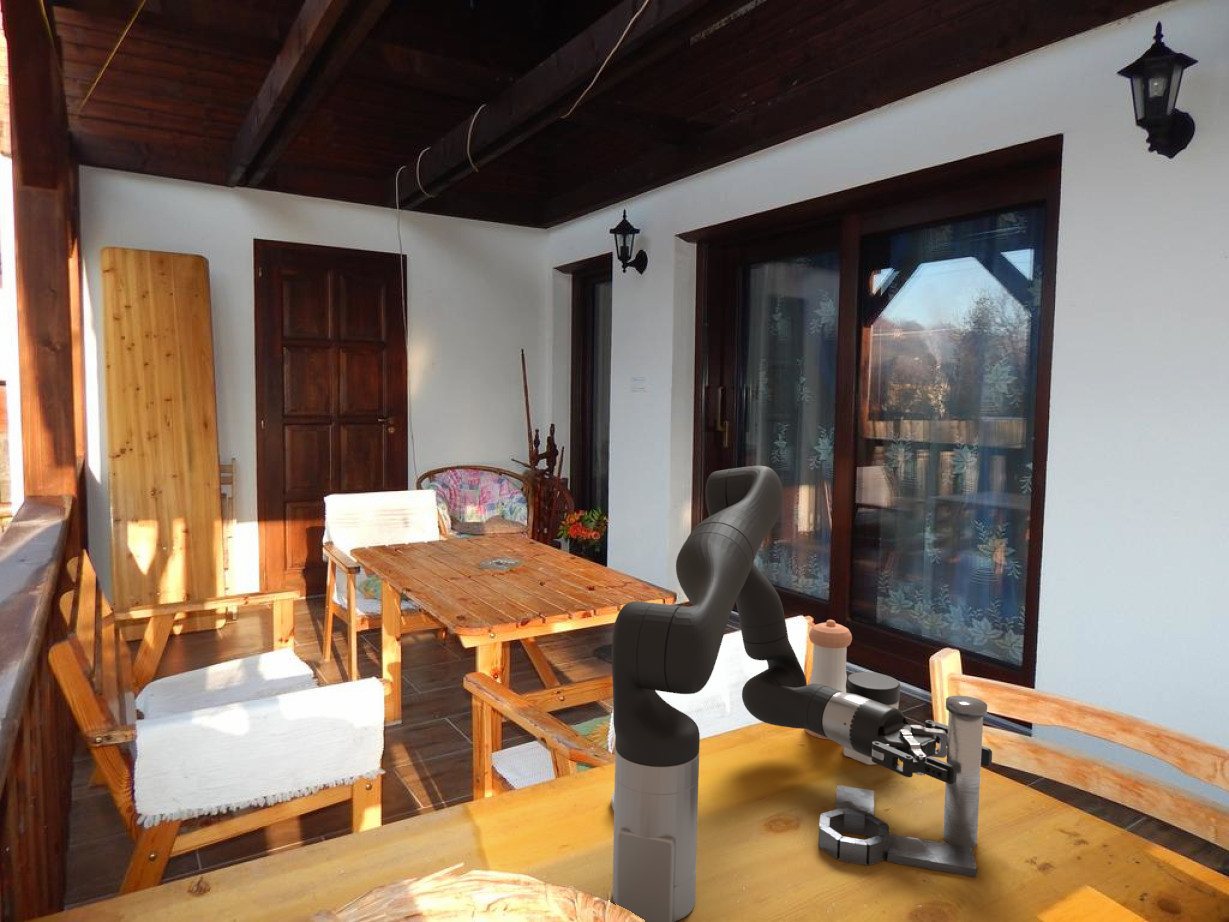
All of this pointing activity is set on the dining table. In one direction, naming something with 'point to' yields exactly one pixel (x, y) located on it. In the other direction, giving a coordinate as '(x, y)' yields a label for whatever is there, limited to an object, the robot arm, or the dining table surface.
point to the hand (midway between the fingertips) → (973, 767)
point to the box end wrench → (884, 838)
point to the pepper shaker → (829, 657)
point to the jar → (872, 697)
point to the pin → (963, 769)
